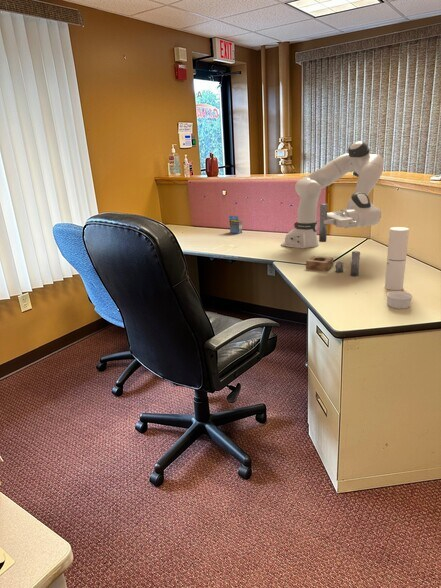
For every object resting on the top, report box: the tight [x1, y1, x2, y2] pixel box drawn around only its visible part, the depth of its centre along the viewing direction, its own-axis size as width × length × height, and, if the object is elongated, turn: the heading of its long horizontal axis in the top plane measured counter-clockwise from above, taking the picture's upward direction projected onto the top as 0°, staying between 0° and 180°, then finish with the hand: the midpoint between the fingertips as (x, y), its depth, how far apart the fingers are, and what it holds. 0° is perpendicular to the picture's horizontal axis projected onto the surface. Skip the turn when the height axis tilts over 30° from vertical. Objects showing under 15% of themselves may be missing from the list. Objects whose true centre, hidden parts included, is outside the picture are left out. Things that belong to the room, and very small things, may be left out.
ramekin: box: [386, 290, 413, 310], centre depth 156 cm, size 9×9×4 cm
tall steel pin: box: [318, 203, 329, 243], centre depth 201 cm, size 4×4×18 cm
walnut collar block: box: [305, 255, 334, 272], centre depth 208 cm, size 10×10×4 cm
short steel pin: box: [335, 261, 344, 274], centre depth 199 cm, size 4×4×4 cm
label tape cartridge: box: [228, 215, 243, 235], centre depth 297 cm, size 9×4×12 cm, turn 47°
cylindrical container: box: [384, 226, 410, 291], centre depth 171 cm, size 7×7×25 cm
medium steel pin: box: [350, 250, 361, 277], centre depth 192 cm, size 4×4×11 cm
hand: (321, 221), depth 200 cm, fingers closed on tall steel pin, 3 cm apart
